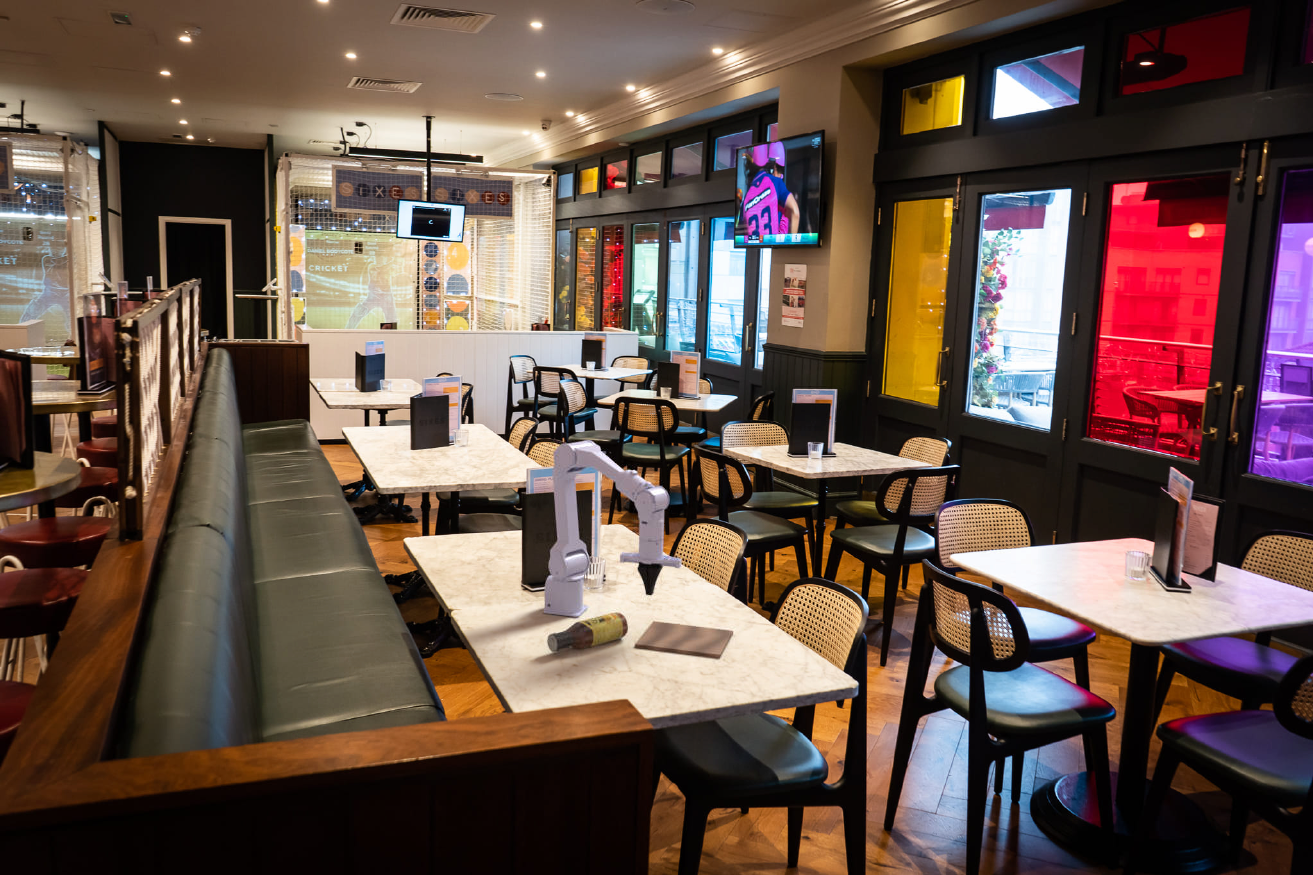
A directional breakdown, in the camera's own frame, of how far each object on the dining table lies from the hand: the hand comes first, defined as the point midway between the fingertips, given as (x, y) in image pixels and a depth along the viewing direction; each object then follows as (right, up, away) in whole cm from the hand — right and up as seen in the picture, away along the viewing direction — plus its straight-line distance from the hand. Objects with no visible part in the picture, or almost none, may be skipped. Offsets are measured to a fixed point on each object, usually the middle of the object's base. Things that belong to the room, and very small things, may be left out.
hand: (649, 593), depth 222 cm
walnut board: (+8, -11, -1) cm, 14 cm away
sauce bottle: (-7, -7, 0) cm, 10 cm away
